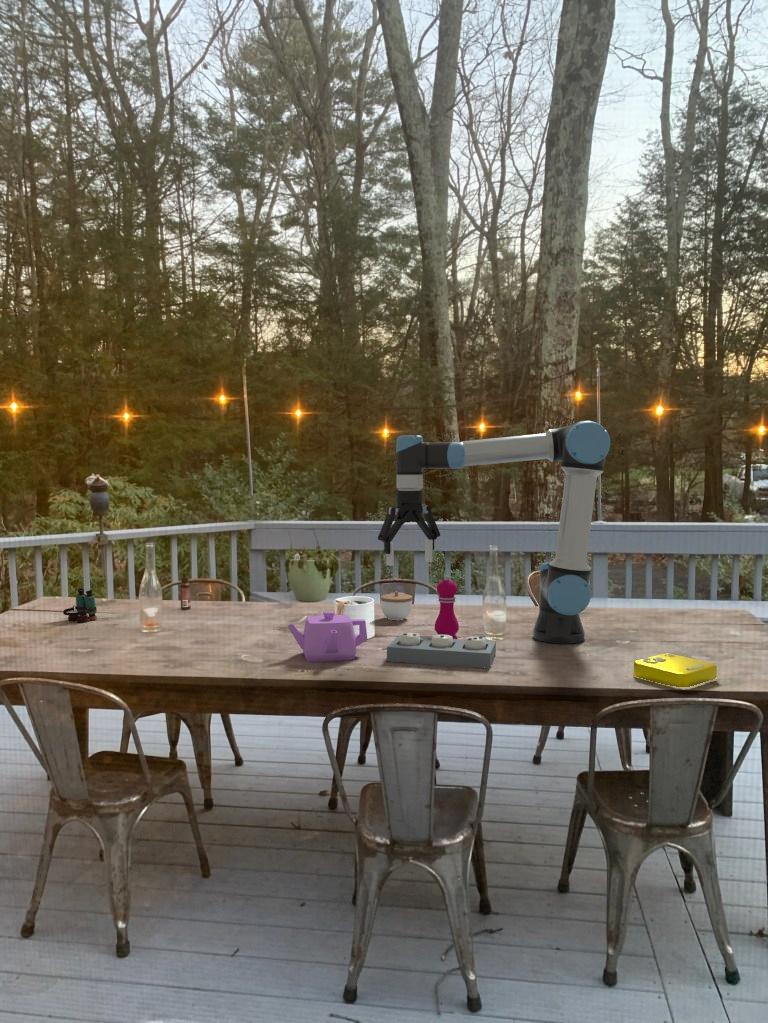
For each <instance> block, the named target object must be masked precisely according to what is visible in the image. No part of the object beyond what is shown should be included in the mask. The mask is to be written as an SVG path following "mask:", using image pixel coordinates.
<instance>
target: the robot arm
mask: <svg viewBox="0 0 768 1023" xmlns="http://www.w3.org/2000/svg"><path fill="white" fill-rule="evenodd" d="M608 432H609V431H607V429H606V428H605V427H604V426H603V425H601V424H600V423H598V422H595V421H592V420H581V421H578V422H575V423H572V424H569V425H566V426H563V427H559V428H552V429H550V428H549V429H547V431H546V432H544V433H535V434H525V435H515V436H506V437H505V436H504V437H494V438H484V439H482V438H481V439H473V440H463V441H439V442H438V441H437V442H436V441H435V442H428V441H424V438H423V436H422V435H419V434H418V435H416V434H415V435H412V434H409V435H398V437H396V447H395V448H396V451H395V458H396V459H395V460H396V465H395V466H396V467H395V468H396V489H397V491H396V493H395V494H396V505H397V506H396V507H393V506H392V507H391V506H388V507H387V511H386V516H385V519H384V520H383V523H382V526H381V529H380V531H379V533H378V536H377V540H378V541H381V542H382V543H383V553H384V554H385V556H386V557H385V560H386V562H385V563H386V564H385V565H386V566H390V567H394V565H395V546H394V545H395V543H394V542H392V541H393V540H394V538H395V537H396V535H397V534H398V533H399V531H400V529H401V528H402V526H403V525H404V524H405V523H416V524H417V525H418V526H419V528H420V529H421V532H422V533H423V534H424V535H425V536H426V538H425V539H424V562H426V563H434V562H433V560H434V559H433V558H434V557H433V554H434V553H433V551H435V541H436V540H437V539H438V538H439V537H441V532H440V531H439V527H438V524H437V523H436V520H435V518H434V515H433V513H432V512H433V511H432V506H431V505H422V504H423V502H424V499H423V498H424V497H423V496H424V494H423V493H424V492H423V490H422V489H423V488H424V485H423V484H424V478H423V477H424V476H423V474H424V472H423V470H424V469H427V470H429V469H432V470H434V469H435V470H439V469H441V470H443V469H444V470H447V469H449V470H457V469H464V467H470V466H471V467H473V466H481V465H483V466H484V465H493V464H495V465H496V464H503V463H504V464H505V463H514V462H524V461H525V462H527V461H536V460H548V461H549V462H550V463H553V462H561V463H560V469H561V470H562V471H563V472H564V475H565V476H564V485H563V492H562V499H561V500H562V501H561V509H560V515H559V517H560V518H559V522H558V523H559V524H558V532H557V539H556V550H555V557H554V558H553V560H551V561H549V562H543V563H541V564H540V566H539V567H540V568H539V571H538V572H539V573H538V574H539V610H538V611H539V612H538V616H537V618H536V622H535V623H534V627H533V630H532V632H533V633H532V637H533V639H535V640H537V641H540V642H545V643H550V644H562V645H564V644H576V643H581V642H583V641H585V630H584V626H583V624H582V620H581V616H580V613H582V612H583V611H585V609H587V607H588V606H589V604H590V602H591V599H592V590H591V586H590V581H591V571H592V568H591V567H590V565H589V564H588V563H587V562H588V561H587V558H588V551H589V544H590V543H589V542H590V535H591V534H590V533H591V528H592V527H591V526H592V519H593V512H594V504H595V503H594V502H595V495H596V488H597V481H598V480H597V479H598V477H599V476H600V475H601V474H603V473H604V470H605V468H604V467H605V463H606V462H605V461H606V457H607V456H608V453H609V451H610V448H611V438H610V434H609V433H608ZM422 513H423V516H424V517H423V516H422ZM396 515H397V516H396ZM395 517H396V518H395Z"/></svg>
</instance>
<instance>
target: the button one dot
mask: <svg viewBox="0 0 768 1023" xmlns="http://www.w3.org/2000/svg"><path fill="white" fill-rule="evenodd" d="M431 638H432V647H448V648H452V647H453V637H452V636H450V635H438V634H434V635H431Z"/></svg>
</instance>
